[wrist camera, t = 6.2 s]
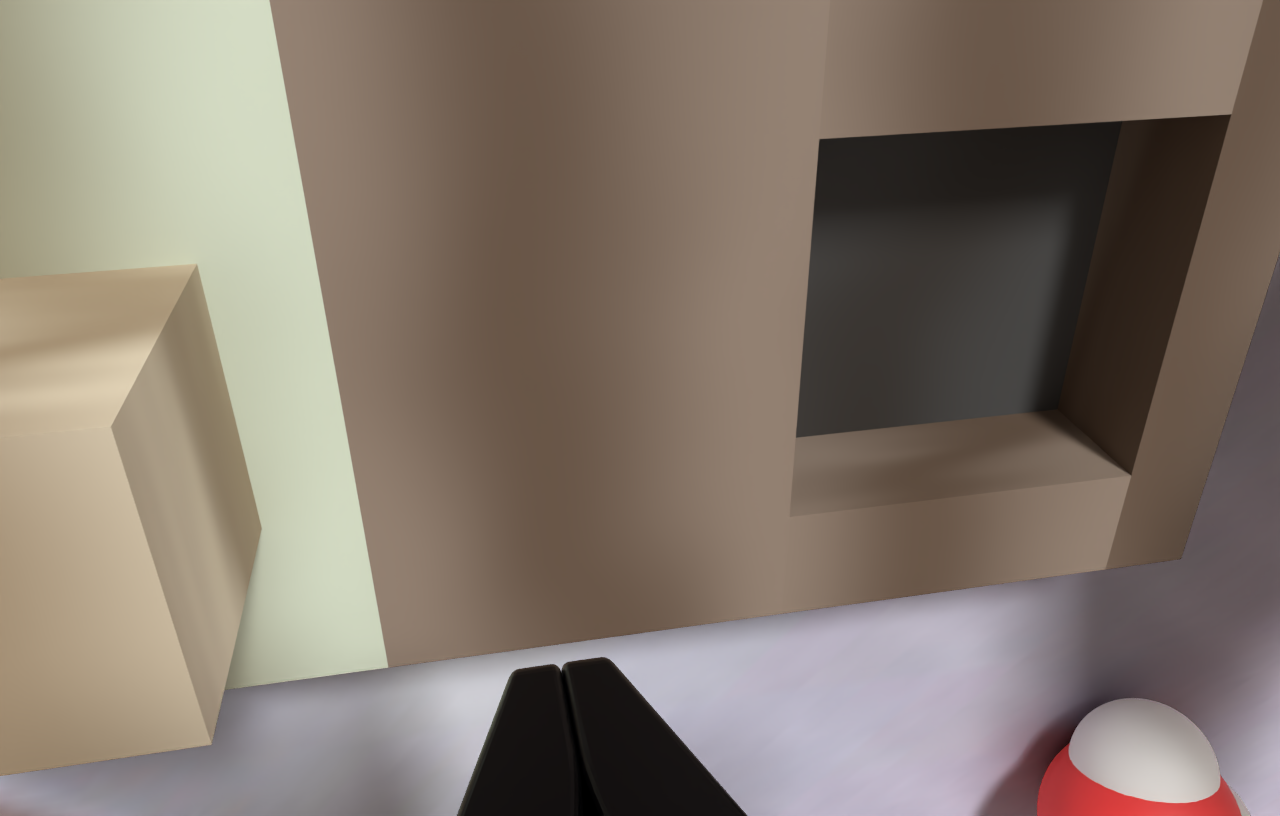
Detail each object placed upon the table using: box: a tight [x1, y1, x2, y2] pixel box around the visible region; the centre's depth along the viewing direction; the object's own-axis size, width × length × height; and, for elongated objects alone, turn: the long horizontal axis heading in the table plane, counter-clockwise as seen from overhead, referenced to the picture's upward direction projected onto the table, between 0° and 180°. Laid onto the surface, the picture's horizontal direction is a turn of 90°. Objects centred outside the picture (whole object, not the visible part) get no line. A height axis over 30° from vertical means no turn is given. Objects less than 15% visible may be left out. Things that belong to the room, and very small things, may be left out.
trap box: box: [0, 0, 1280, 690], centre depth 12 cm, size 23×18×4 cm
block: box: [0, 264, 262, 776], centre depth 11 cm, size 4×4×4 cm
